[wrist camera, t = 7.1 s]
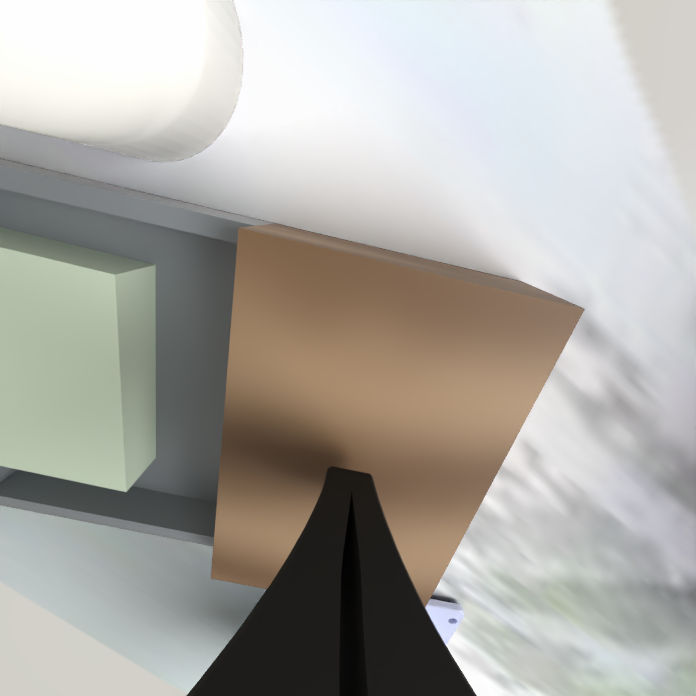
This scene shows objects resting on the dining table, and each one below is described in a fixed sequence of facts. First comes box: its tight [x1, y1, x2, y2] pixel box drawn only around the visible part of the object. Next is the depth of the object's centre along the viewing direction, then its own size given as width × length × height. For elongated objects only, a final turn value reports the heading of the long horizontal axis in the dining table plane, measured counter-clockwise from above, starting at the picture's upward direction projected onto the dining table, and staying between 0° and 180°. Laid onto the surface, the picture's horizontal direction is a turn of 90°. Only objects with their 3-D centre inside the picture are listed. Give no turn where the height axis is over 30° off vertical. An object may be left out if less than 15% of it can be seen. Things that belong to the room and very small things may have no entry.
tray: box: [0, 158, 275, 546], centre depth 13 cm, size 14×11×2 cm
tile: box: [0, 227, 156, 492], centre depth 12 cm, size 9×6×2 cm, turn 166°
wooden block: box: [211, 223, 584, 607], centre depth 12 cm, size 14×9×4 cm, turn 168°
